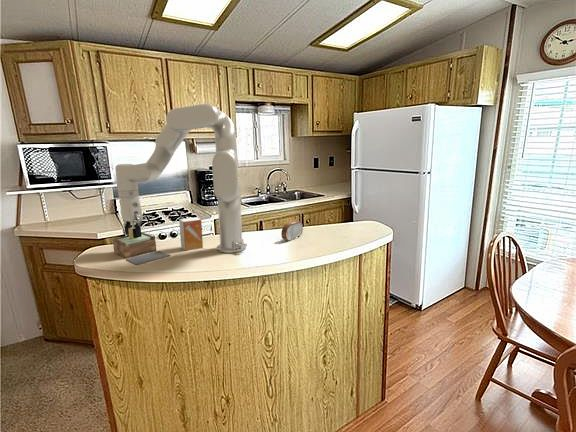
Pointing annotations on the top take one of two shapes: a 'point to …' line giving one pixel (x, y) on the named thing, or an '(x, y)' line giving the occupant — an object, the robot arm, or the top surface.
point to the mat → (147, 257)
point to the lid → (134, 240)
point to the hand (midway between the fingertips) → (133, 235)
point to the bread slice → (292, 230)
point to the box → (134, 247)
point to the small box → (191, 233)
